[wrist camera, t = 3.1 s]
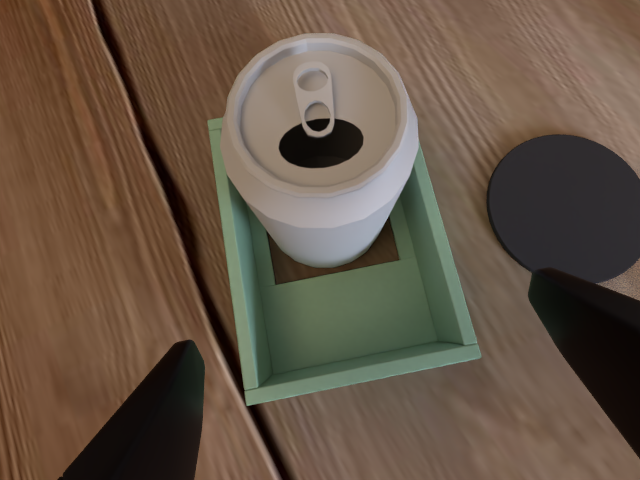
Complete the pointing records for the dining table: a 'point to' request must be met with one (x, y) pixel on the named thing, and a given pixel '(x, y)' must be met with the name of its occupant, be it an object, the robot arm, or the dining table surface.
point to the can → (320, 144)
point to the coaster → (567, 207)
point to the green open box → (343, 301)
